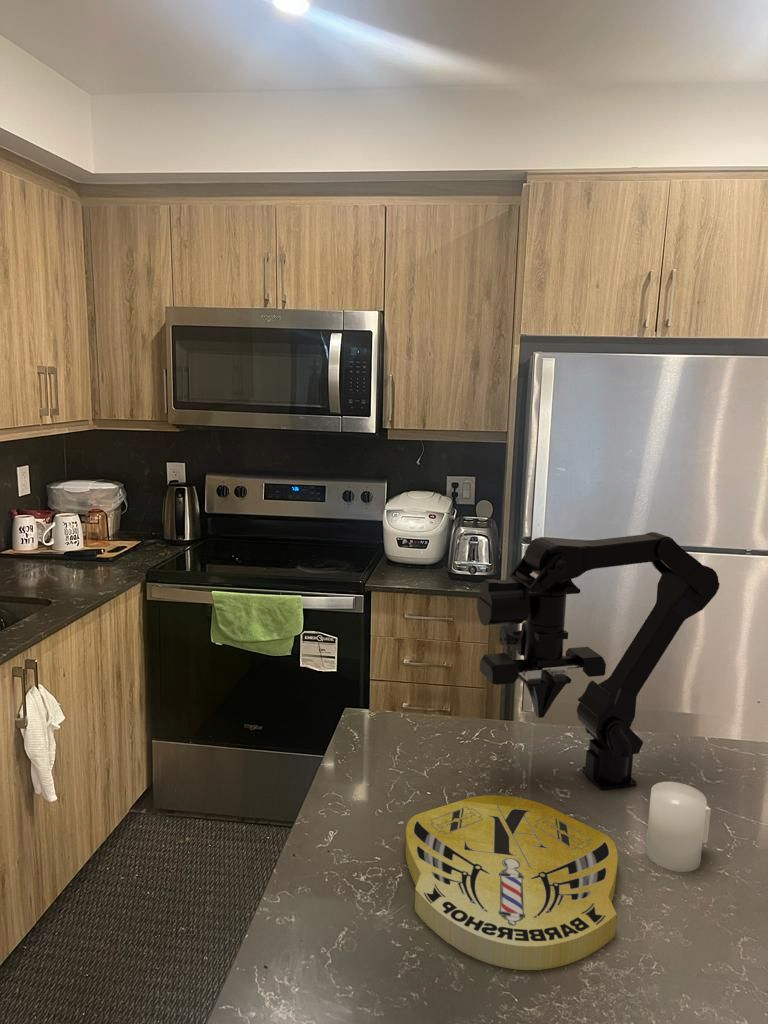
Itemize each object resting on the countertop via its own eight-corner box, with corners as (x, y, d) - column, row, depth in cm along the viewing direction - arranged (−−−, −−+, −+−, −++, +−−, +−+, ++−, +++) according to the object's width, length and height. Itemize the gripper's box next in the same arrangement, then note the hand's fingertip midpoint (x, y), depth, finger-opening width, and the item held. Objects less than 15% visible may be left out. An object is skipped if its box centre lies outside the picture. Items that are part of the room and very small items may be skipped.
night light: (685, 836, 107) (691, 778, 105) (718, 867, 100) (724, 805, 99) (635, 843, 105) (640, 784, 103) (665, 875, 98) (671, 813, 97)
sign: (384, 927, 84) (415, 786, 113) (384, 953, 84) (414, 806, 114) (643, 962, 80) (606, 806, 109) (641, 989, 80) (604, 826, 109)
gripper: (575, 602, 124) (569, 690, 127) (469, 608, 119) (465, 700, 122) (611, 623, 113) (603, 720, 116) (496, 631, 109) (491, 731, 112)
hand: (539, 716), depth 117 cm, fingers closed
